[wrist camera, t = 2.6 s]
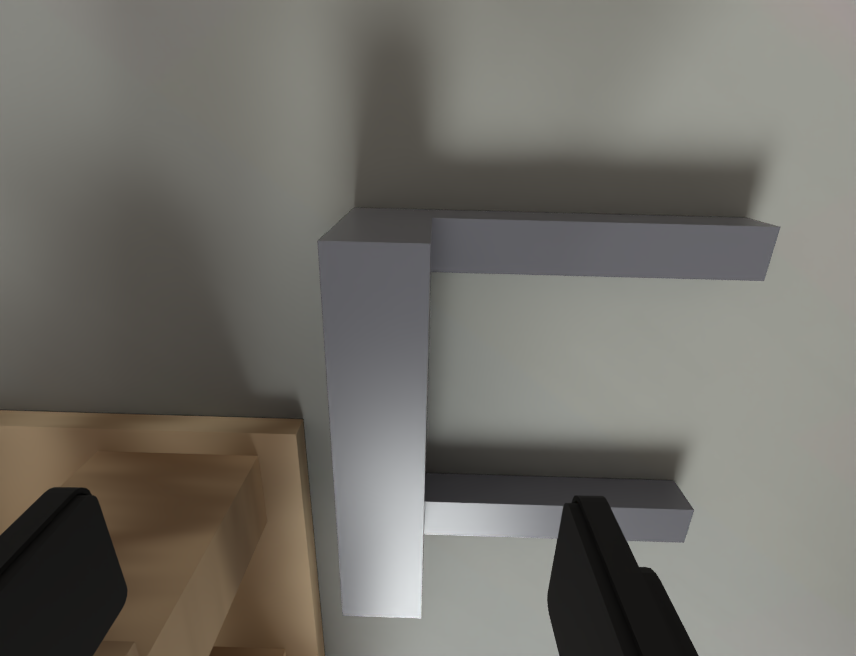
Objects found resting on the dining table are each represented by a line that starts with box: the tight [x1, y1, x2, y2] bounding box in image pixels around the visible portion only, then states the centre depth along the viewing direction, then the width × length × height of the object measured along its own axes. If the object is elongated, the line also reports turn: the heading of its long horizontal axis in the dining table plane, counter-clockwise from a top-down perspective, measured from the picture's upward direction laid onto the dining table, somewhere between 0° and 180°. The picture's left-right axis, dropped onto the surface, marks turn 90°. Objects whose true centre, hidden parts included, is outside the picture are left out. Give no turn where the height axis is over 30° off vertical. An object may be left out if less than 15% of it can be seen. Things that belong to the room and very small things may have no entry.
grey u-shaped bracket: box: [318, 208, 780, 618], centre depth 15 cm, size 12×12×5 cm
